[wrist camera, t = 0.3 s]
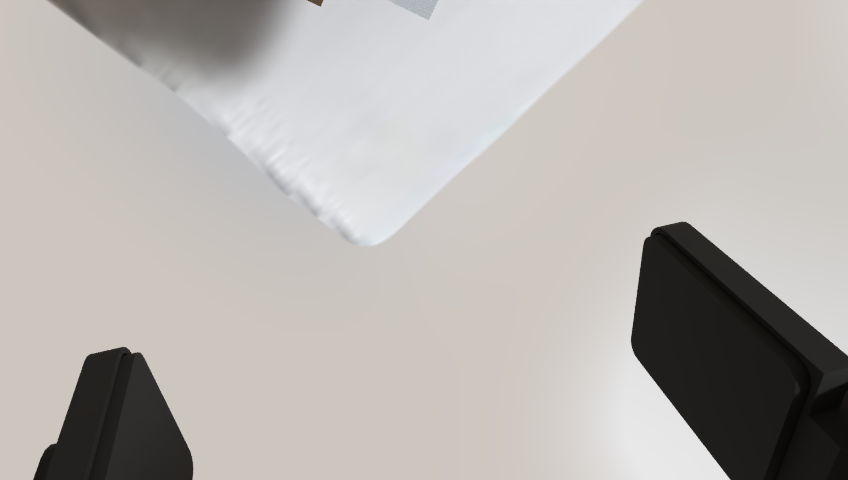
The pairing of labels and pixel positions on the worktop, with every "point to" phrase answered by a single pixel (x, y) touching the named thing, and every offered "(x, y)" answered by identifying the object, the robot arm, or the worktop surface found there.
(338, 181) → the worktop surface
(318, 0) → the slot box
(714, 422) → the robot arm
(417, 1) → the cover plate
